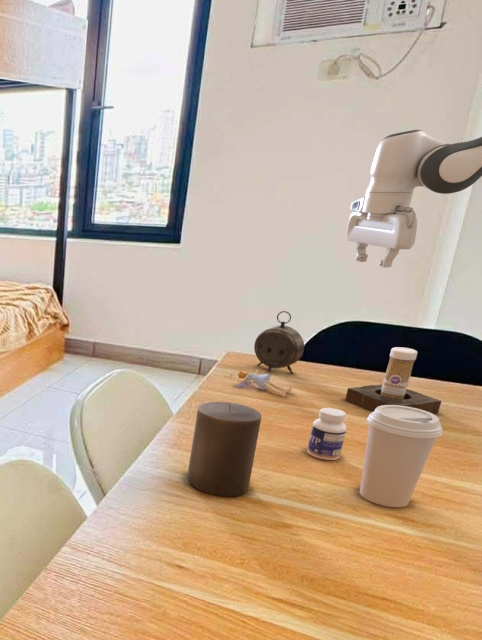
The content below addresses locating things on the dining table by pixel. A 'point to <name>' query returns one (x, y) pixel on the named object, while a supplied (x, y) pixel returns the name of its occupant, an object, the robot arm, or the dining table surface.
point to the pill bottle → (327, 434)
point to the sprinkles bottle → (398, 372)
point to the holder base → (390, 399)
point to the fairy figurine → (262, 382)
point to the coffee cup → (396, 453)
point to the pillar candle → (223, 448)
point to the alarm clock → (279, 346)
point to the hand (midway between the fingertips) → (372, 264)
